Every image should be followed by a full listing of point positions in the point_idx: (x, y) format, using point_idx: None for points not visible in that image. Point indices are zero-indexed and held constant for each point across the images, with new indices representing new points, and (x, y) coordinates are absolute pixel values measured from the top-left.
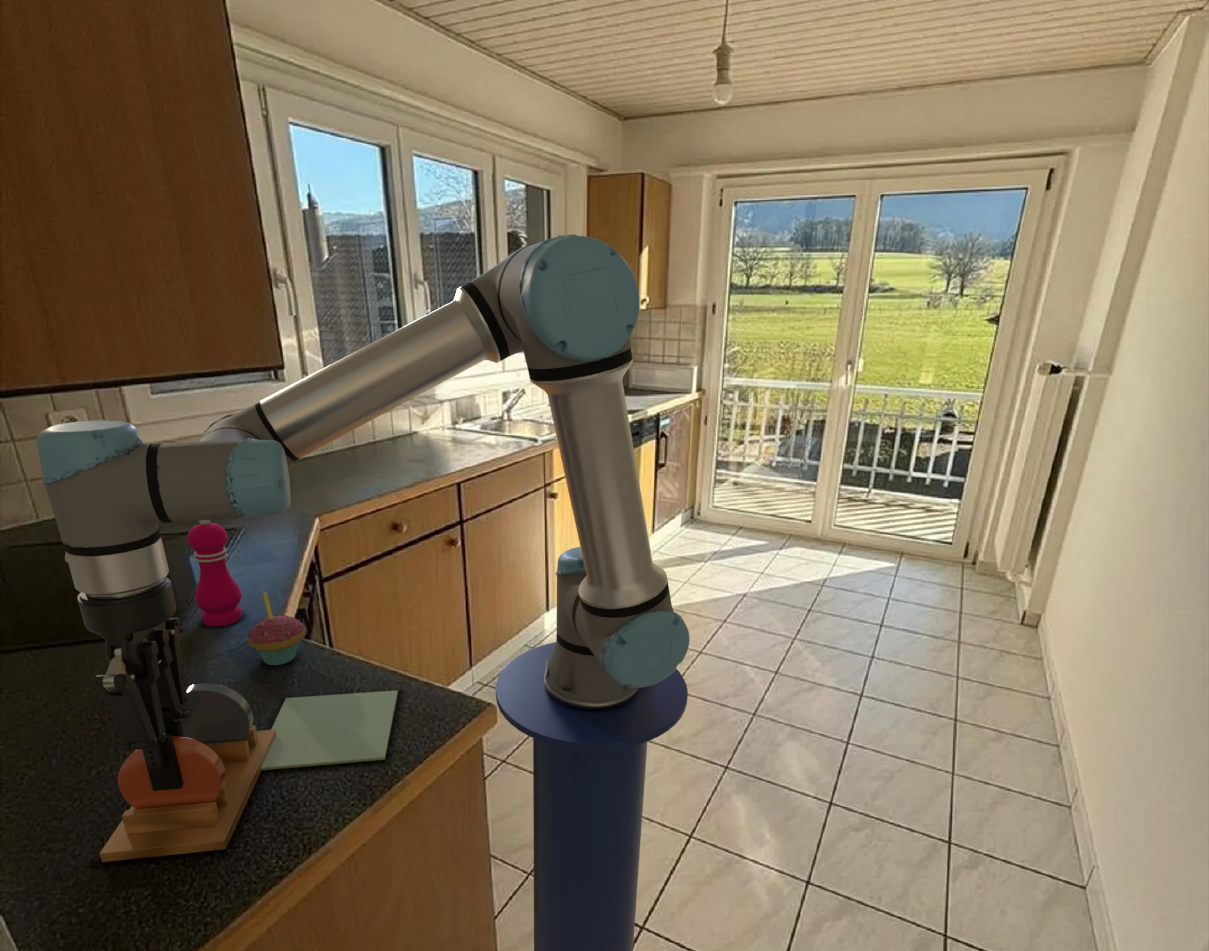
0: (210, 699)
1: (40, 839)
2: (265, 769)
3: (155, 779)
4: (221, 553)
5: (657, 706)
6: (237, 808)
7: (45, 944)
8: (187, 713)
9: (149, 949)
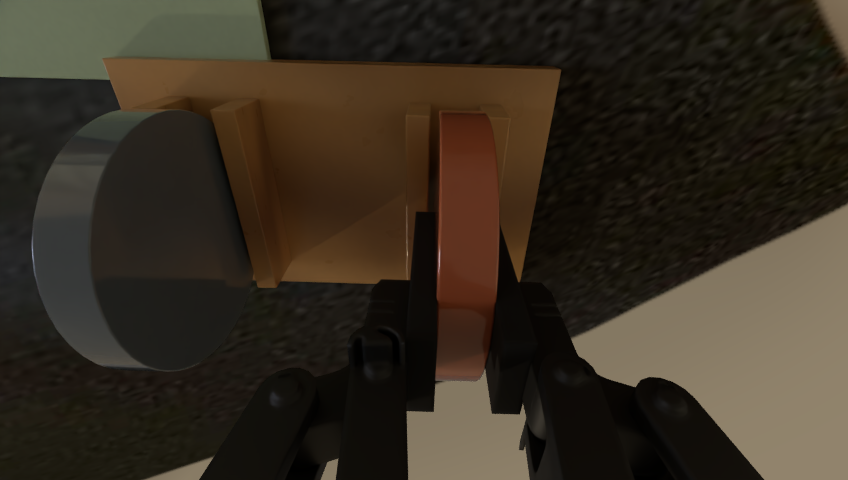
0: (128, 270)
1: None
2: (268, 47)
3: None
4: None
5: None
6: (448, 70)
7: (665, 282)
8: (376, 339)
9: (773, 133)
